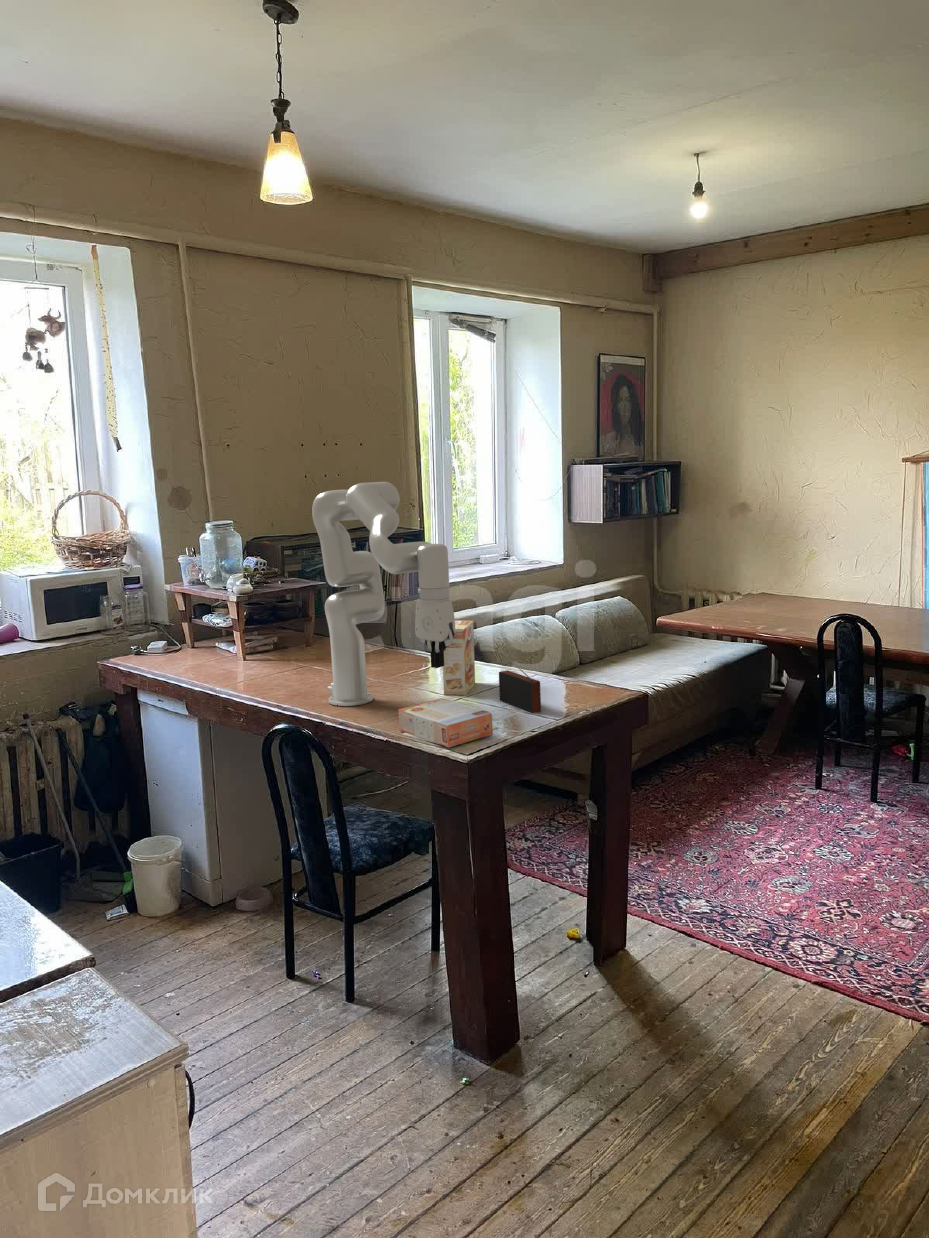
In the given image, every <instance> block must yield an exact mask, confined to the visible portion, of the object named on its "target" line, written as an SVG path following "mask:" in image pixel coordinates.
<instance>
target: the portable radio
mask: <svg viewBox="0 0 929 1238" xmlns="http://www.w3.org/2000/svg"><path fill="white" fill-rule="evenodd" d="M496 650H497V651H499V652H500V653H501V654H502V655H504V656H505V657H506V658H507V659H508V661H510V662H511V663H512V664H513V665H514V666H515V667H516V668H517V669H518V670H520V672H521V673H523V674H524V675H522V674H519V673H517V672H514V671H512V670H511V671H510V670H502V671H499V672H498V687H499V688H498V690H499V693H498V694H499V701H500V702H502V703H504V704H506V705H509V706H512V707H515V708H517V709H520V710H522V711H524V712H528V713H530V714H537V713H541V712H542V706H541V705H542V703H541V702H542V701H541V700H542V699H541V697H542V696H541V695H542V694H541V681H540V680H538V679H535V678H531V677H530V676H529V675H528V674H526V672H525V671H523V670H522V669H521V668H520V667H519V666H518V665H517V664H515V662H513V661H512V660H511V659H510V658H509V657H507V656H506V654H505V653H504V652H502V651H501V650H500V649H499V647H496Z"/></svg>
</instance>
